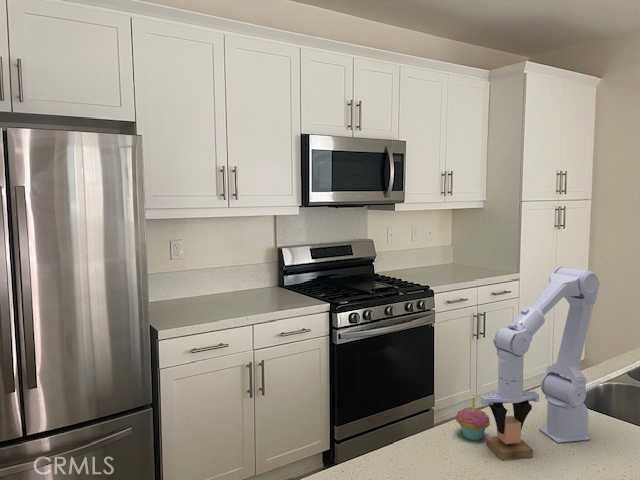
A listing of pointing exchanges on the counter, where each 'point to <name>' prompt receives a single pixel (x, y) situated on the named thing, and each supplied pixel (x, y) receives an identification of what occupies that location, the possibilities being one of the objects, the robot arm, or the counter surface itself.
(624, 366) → the counter surface
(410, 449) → the counter surface
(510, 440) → the block
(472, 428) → the cupcake
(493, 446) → the base
